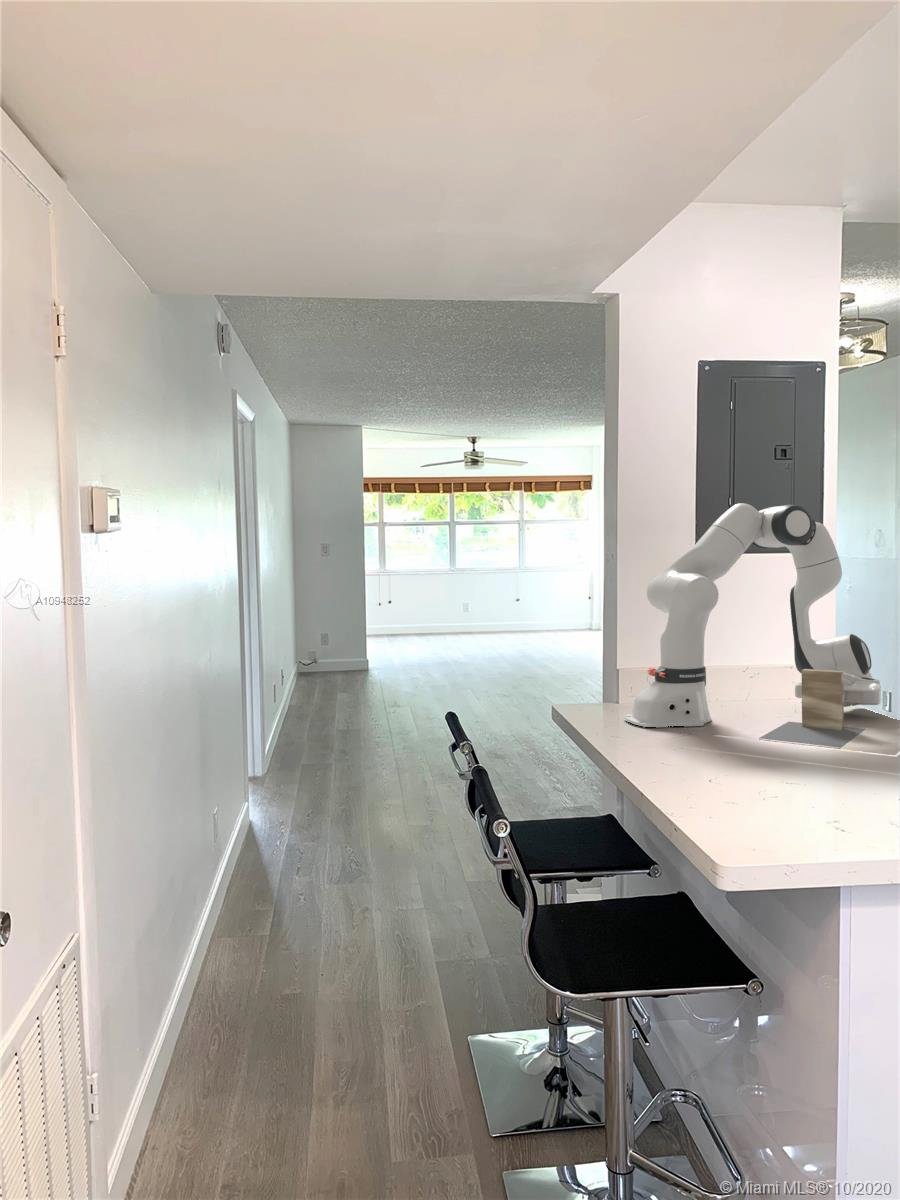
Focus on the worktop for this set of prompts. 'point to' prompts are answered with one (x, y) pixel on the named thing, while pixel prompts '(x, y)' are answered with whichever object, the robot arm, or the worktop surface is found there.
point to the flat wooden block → (822, 699)
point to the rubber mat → (812, 735)
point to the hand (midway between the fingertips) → (829, 697)
